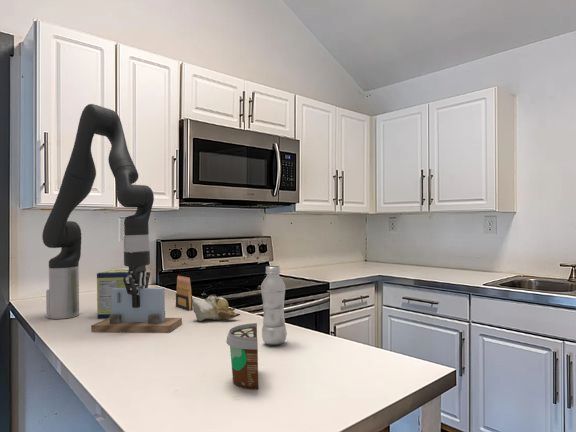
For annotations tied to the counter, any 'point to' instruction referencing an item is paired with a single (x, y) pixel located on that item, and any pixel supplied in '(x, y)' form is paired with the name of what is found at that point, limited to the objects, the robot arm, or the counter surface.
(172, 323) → the cabinet base
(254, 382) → the food container
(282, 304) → the plastic bottle
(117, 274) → the protein box
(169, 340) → the counter surface
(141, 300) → the door
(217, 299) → the ceramic sculpture
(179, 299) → the ammunition clip
